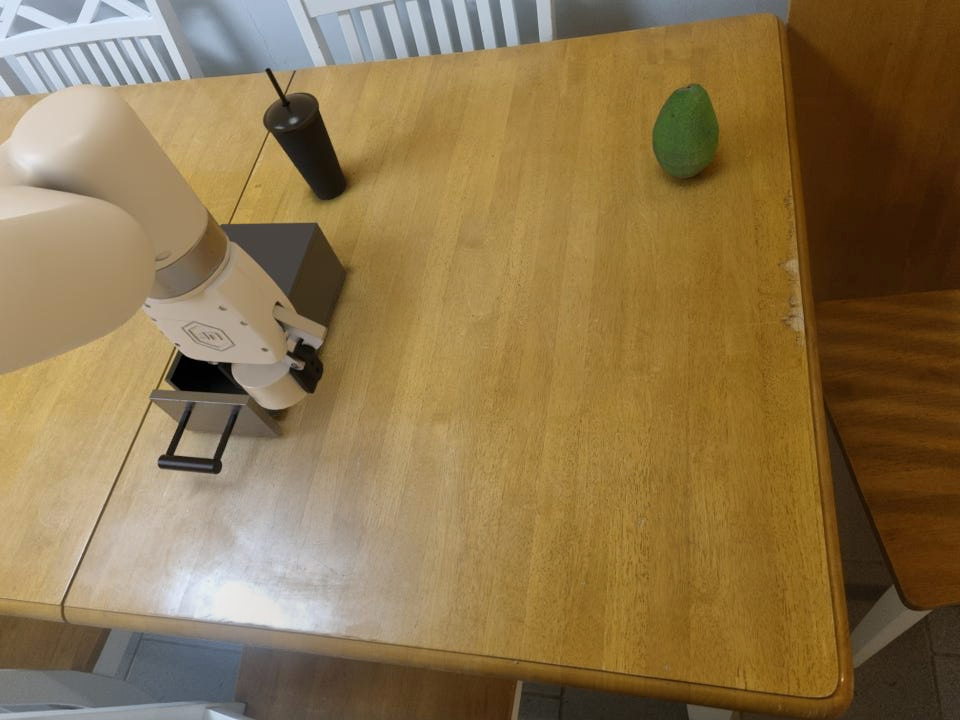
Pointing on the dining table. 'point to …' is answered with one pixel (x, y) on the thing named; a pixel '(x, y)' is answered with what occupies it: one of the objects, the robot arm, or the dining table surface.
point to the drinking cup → (305, 140)
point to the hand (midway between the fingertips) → (280, 376)
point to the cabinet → (295, 263)
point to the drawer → (208, 411)
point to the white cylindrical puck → (270, 382)
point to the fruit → (686, 132)
